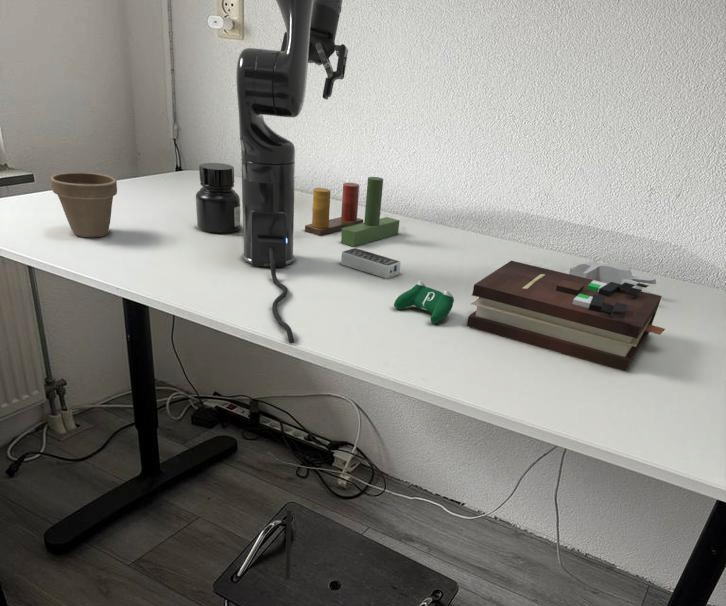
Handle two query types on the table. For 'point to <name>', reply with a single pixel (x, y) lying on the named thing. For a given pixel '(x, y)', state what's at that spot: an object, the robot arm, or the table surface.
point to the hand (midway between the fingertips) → (306, 94)
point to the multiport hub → (370, 263)
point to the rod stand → (322, 208)
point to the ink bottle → (217, 199)
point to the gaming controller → (426, 301)
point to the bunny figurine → (610, 273)
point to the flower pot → (86, 201)
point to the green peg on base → (371, 219)
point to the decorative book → (566, 313)
